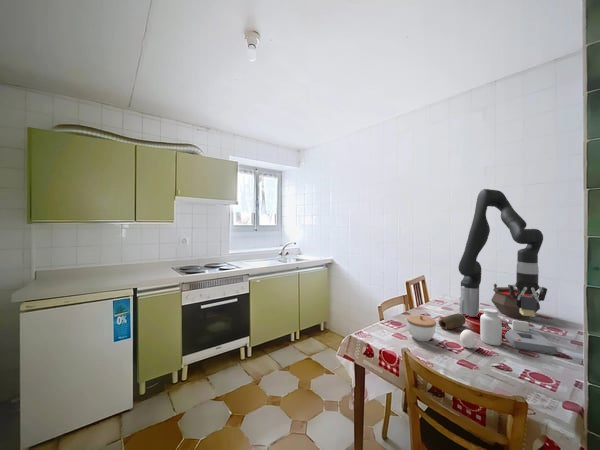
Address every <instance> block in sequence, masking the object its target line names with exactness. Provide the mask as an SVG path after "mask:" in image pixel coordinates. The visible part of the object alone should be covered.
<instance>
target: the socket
mask: <svg viewBox="0 0 600 450" xmlns="http://www.w3.org/2000/svg"><path fill="white" fill-rule="evenodd" d="M502 328H505V326H502ZM510 328H511V327H510ZM504 338H505V339H506V340H507V341H508V343H509V344H510V345H511V346H512V347H513V348H514V349H517V350H525V351H532V352H537V353H545V354H550V355H551V354H552V355H556V354H557V353H556V350H557V347H556V345H554V344H553V343H551V341H549V340H548V339H547V338H546V337H544V336H543V335H542V334H541V333H539V332H538V331H535V330H529V329H528V332H526V331H519V330H513V329H512V328H511V329H510V330H509V331H507V332H506V334H505V337H504Z"/></svg>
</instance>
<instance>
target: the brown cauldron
mask: <svg viewBox="0 0 600 450" xmlns="http://www.w3.org/2000/svg"><path fill="white" fill-rule="evenodd" d="M492 290H493V291H494V294H493V296H492V297H491V299H490V300H491V302H492V304H493V305H494V306H495V307H496V310H497V311H498V312H499V313H500V314H503V315H505V316H507V317H511V318H512V317H513V318H517V319H530V318H531V317H532V316H523V315H522V314H521V313H520V308H518V307H517V306H516V299H515V298H513V297H511V295H510V292H509V288H508V286H503V287H502V286H498V284H497V283H494V284H493V289H492ZM517 291H518V289H517V287H515V290H514V292H515V296H516V295H517ZM539 293H540V292H538V291H536V294H537V297H539ZM523 296H531V294H524V295H523ZM531 297H532V296H531ZM540 309H541V305H540V303H539V308H538V309H537V311H534V315H535V314H536V313H537V312H538V311H540Z"/></svg>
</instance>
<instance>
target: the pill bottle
mask: <svg viewBox="0 0 600 450" xmlns="http://www.w3.org/2000/svg"><path fill="white" fill-rule="evenodd" d="M479 317H480V318H479V319H480V320H479V321H480V330H479V331H480V340H481V342H483V343H484V344H487V345H491V346H501V345H502V340H503V339H502V338H503V337H502V335H503V334H502V327H503V324H502V323H503V322H502V318H501V317H500V316H499V310H498V309H494V308H483V314H481V315H480V316H479Z"/></svg>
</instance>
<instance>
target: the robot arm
mask: <svg viewBox="0 0 600 450" xmlns="http://www.w3.org/2000/svg"><path fill="white" fill-rule="evenodd" d="M488 207H494V208H496V209H497V210H498V211H500V220H501V221H502V223H503V224H504V225H505V226H506V228H508V229H509V232H510V235H511V237H512V241H514V242H515V243H517V244H519V245H526V246H525V247H524V248H521V249H519V250H517V255H516V256H517V261H516V262H517V263H516V277H515V278H516V282H515V284H508V285H507V287H508V288H509V292H510V295H511V297H513V298H515V299H516V306H517V307H518V308H521V300H520V299H521V298H522V296H523V295H524V294H531V296H532V297H533V298H534V299H537V309H538V308H539V304H540V303H539V302H541V301H542V302H543V301H545V298H546V295H547V292H548V288H546V287H544V286H539V274H540V273H539V263H538V262H539V253H540V250H541V247H542V245H543V241H544V234H543V233H542V231H541V230H539V229H538V228H527V225H528V224H527V222H526V221H525V220H524V219H523V217H522V216H521V215H519V214H518V213H517V211H516V210H515V209H514V208H513V206H512V204H511V203H510V201H509V199H508V198H507V197H506V195H505V194H504V192H502V191H501V190H496V189H489V188H484V189H481V190H480V191H479V193H478V195H477V198H476V203H475V209H474V215H473V218H472V219H473V220H472V221H471V226H470V228H469V232H468V236H467V240H466V243H465V248H464V250H463V251H464V252H463V254H462V255H461V258H460V260H459V263H458V271H459V273H460V274H461V275H462V276H463V278H462V280H461V281H460V297H459V314H462V315H463V314H466V315H469V316H477V315H478V314H479V315H480V285H481V283H482V266H481V263H480V262H479V261H478V256H479V254H480V252H481V251H482V249H483V248H484V246H485V245H486V244H487V242H488V239H489V235H490V232H491V228H490V225H489V222H488V218H487V210H488ZM515 288H516V289H518V291H517V295H516V296H515V292H514V290H515ZM538 291H539V292H538ZM536 292H538V293H539V296H538V297H537V294H536Z"/></svg>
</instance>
